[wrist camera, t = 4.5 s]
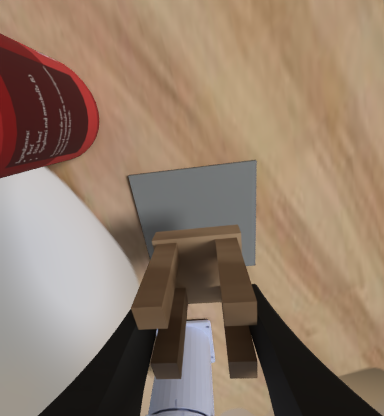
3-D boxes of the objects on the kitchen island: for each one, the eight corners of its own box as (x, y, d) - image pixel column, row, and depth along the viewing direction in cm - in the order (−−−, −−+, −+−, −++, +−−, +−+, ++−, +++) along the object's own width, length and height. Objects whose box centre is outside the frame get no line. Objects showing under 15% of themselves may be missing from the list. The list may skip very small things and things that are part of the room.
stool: (240, 288, 15) (263, 381, 10) (170, 292, 16) (151, 382, 10) (237, 224, 13) (264, 295, 8) (155, 232, 14) (122, 303, 8)
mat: (254, 262, 22) (255, 265, 22) (154, 271, 23) (153, 273, 22) (255, 159, 17) (256, 160, 17) (129, 175, 18) (128, 176, 18)
